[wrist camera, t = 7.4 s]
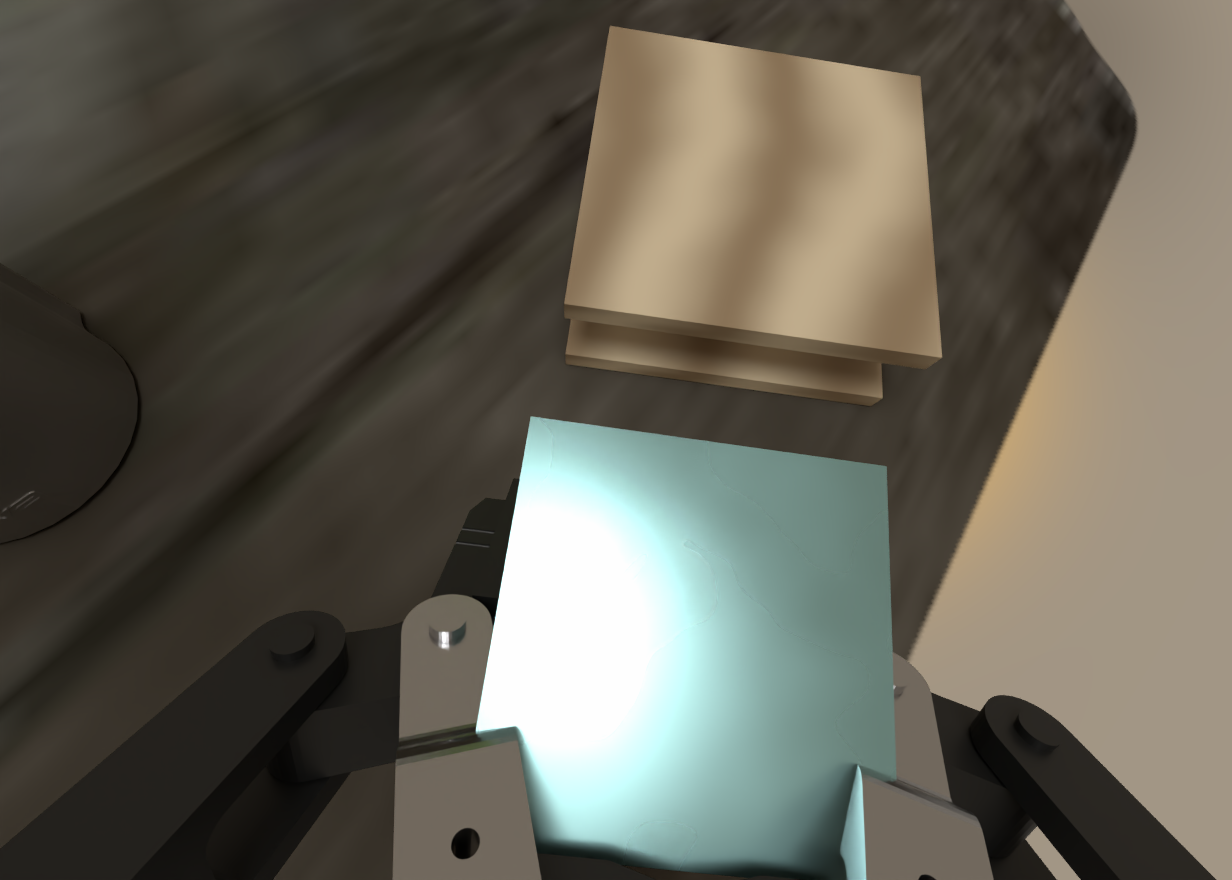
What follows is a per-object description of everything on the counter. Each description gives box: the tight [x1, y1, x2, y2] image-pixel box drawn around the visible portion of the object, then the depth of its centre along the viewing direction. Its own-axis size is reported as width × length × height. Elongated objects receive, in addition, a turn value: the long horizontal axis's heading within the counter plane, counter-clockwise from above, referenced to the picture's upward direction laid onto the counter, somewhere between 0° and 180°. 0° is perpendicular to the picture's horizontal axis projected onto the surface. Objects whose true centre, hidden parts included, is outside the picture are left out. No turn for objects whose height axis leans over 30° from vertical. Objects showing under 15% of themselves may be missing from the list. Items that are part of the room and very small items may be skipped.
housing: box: [476, 417, 897, 880], centre depth 11 cm, size 5×5×10 cm
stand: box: [564, 26, 942, 406], centre depth 24 cm, size 14×14×5 cm
